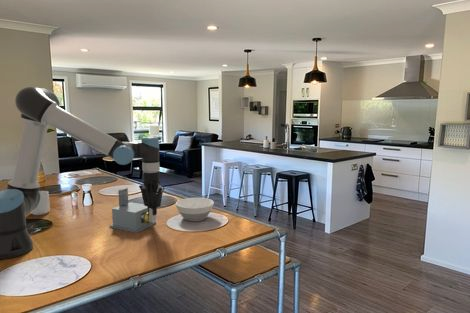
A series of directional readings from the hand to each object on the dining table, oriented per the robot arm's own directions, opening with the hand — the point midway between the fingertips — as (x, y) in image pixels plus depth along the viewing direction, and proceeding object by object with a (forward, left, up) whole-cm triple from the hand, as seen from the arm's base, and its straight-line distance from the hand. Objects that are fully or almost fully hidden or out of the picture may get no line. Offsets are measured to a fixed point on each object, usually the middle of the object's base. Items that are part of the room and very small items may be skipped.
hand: (152, 221), depth 155 cm
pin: (+5, +9, -1) cm, 11 cm away
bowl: (+15, -19, -4) cm, 24 cm away
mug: (+30, +64, -4) cm, 71 cm away
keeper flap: (+9, +15, +9) cm, 19 cm away
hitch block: (+6, +10, -4) cm, 12 cm away
